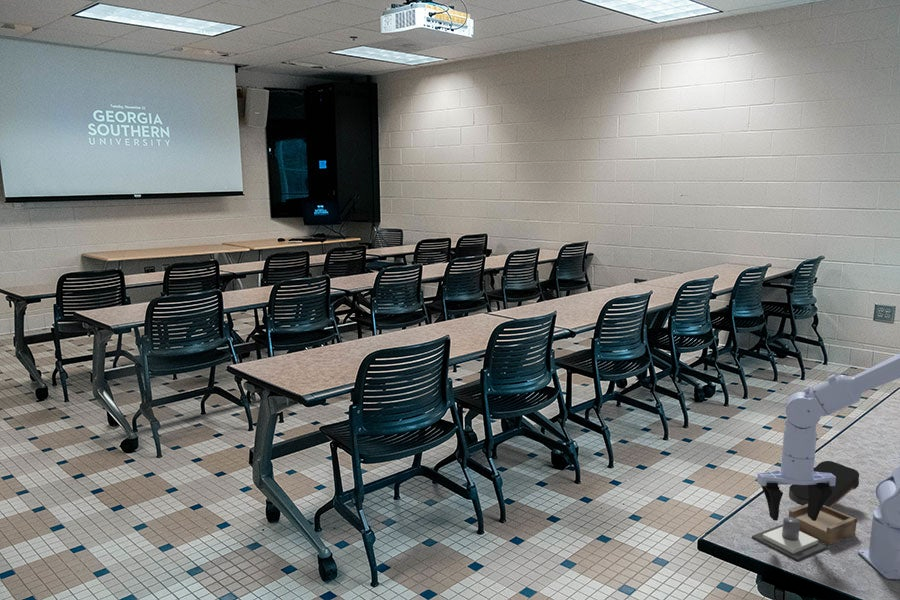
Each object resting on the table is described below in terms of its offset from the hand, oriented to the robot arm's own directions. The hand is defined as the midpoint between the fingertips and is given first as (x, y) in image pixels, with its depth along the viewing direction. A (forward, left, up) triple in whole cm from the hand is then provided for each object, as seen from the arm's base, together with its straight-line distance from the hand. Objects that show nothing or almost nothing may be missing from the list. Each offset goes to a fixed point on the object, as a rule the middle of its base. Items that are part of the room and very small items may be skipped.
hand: (792, 518), depth 137 cm
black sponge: (+17, -16, -3) cm, 23 cm away
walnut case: (+5, -9, -5) cm, 12 cm away
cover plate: (0, 0, -5) cm, 5 cm away
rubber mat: (0, 0, -5) cm, 5 cm away
